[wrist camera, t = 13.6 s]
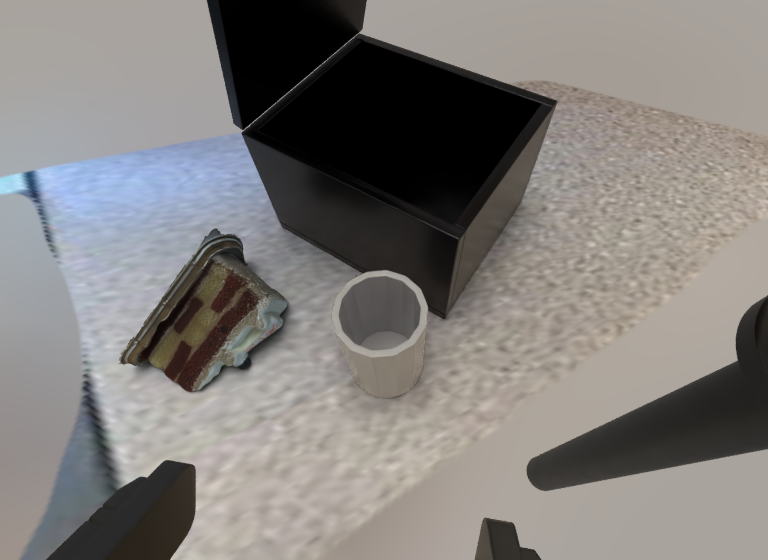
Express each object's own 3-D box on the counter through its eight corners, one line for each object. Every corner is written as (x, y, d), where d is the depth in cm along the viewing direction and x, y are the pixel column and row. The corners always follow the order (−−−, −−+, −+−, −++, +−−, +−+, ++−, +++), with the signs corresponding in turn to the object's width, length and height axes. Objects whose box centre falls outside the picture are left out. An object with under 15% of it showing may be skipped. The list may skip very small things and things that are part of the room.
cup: (436, 351, 30) (445, 297, 23) (396, 414, 28) (392, 377, 20) (377, 316, 32) (368, 255, 24) (336, 372, 29) (312, 324, 22)
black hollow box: (521, 202, 36) (558, 100, 28) (444, 319, 31) (459, 240, 22) (369, 136, 42) (359, 32, 33) (281, 226, 36) (240, 132, 28)
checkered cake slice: (185, 437, 28) (260, 315, 23) (110, 371, 29) (167, 238, 24) (265, 370, 37) (331, 271, 32) (206, 321, 37) (262, 216, 32)
